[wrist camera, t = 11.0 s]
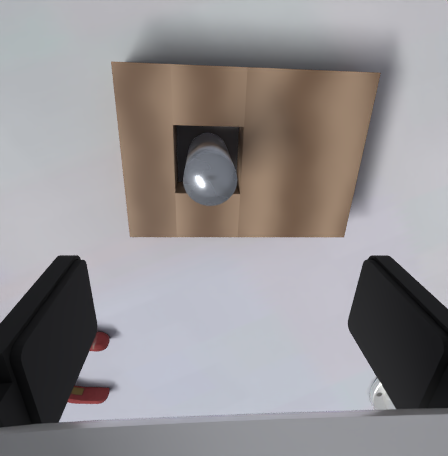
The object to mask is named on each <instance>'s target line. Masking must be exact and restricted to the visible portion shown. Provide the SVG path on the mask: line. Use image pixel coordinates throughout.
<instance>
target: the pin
mask: <svg viewBox="0 0 448 456" xmlns="http://www.w3.org/2000/svg"><path fill="white" fill-rule="evenodd" d="M183 184H184V188H185V190H186V192H187V194H188V195H189V197H190V198H191V199H193V200H194V201H195V202H197V203H199V204H201V205H205V206H215V205H219V204H222V203H224V202H225V201H227V200H228V199H229V198H230V197H231V196H232V195H233V193H234V191H235V189H236V186H237V173H236V170H235V168H234V165H233V162H232V160H231V157H230V155H229V152H228V149H227V147H226V144H225V143H224V141H223V140H222V139H221V138H220V137H219V136H217V135H215V134H212V133H203V134H200V135H198V136H197V137H195V138H194V139H193V140H192V142H191V144H190V146H189V151H188V155H187V160H186V165H185V170H184V176H183Z"/></svg>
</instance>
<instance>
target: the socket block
mask: <svg viewBox="0 0 448 456" xmlns="http://www.w3.org/2000/svg"><path fill="white" fill-rule="evenodd" d="M111 65H112V74H113V84H114V93H115V102H116V111H117V121H118V130H119V139H120V148H121V158H122V167H123V176H124V185H125V195H126V204H127V213H128V222H129V232H130V237H344V235H345V230H346V226H347V221H348V217H349V212H350V208H351V203H352V199H353V194H354V190H355V186H356V181H357V177H358V172H359V168H360V163H361V159H362V154H363V150H364V145H365V141H366V136H367V132H368V127H369V123H370V118H371V114H372V110H373V105H374V101H375V96H376V92H377V87H378V83H379V78H380V74H381V73H374V72H349V71H325V70H301V69H277V68H253V67H229V66H205V65H180V64H156V63H132V62H111ZM176 125H191V126H228V127H239V136H238V155H237V186H236V189H235V191H234V193H233V195H232V196H231V197H230V198H229V199H228V200H227V201H225V202H224V203H222V204H219V205H215V206H205V205H201V204H199V203H197V202H195V201H194V200H193V199H191V198H190V197H189V195H188V194H187V192H186V190H185V188H184V184H183V182H178V161H177V128H176Z"/></svg>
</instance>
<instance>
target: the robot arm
mask: <svg viewBox="0 0 448 456" xmlns="http://www.w3.org/2000/svg"><path fill="white" fill-rule="evenodd" d="M348 328H349V331H350V333H351V334H352V336H353V338H354V339H355V341H356V343H357V344H358V346H359V348H360V349H361V351H362V353H363V354H364V356H365V358H366V359H367V361H368V363H369V364H370V366H371V368H372V370H373V371H374V373H375V375H376V376H377V379H376V380H375V382H374V383H373V385H372V388H371V390H370V402H371V404H372V406H373V408H374V409H375V410H353V411H321V412H292V413H264V414H237V415H210V416H186V417H162V418H138V419H115V420H95V421H78V422H61V423H59V420H60V418H61V416H62V413H63V411H64V409H65V406H66V404H67V402H68V399H69V397H70V395H71V392H72V390H73V388H74V385H75V383H76V381H77V378H78V376H79V374H80V371H81V369H82V367H83V364H84V362H85V360H86V357H87V355H88V353H89V350H90V348H91V346H92V343H93V341H94V339H95V336H96V333H97V320H96V314H95V309H94V303H93V298H92V292H91V286H90V281H89V275H88V270H87V264H86V261H85V260H81V259H80V257H79V256H58V257H57V258H56V259H55V260H54V261H53V262H52V263H51V265H50V266H49V267H48V268H47V269H46V271H45V272H44V273H43V274H42V275H41V276H40V278H39V279H38V280H37V281H36V282H35V283H34V285H33V286H32V287H31V288H30V289H29V290H28V292H27V293H26V294H25V295H24V296H23V297H22V299H21V300H20V301H19V302H18V303H17V305H16V306H15V307H14V308H13V309H12V310H11V312H10V313H9V314H8V315H7V316H6V317H5V319H4V320H3V321H2V322H1V323H0V456H448V309H447V308H446V307H445V306H444V305H443V304H442V303H441V302H439V301H438V300H437V299H436V298H435V297H434V296H433V295H432V294H431V293H430V292H429V291H427V290H426V289H425V288H424V287H423V286H422V285H421V284H420V283H419V282H418V281H417V280H415V279H414V278H413V277H412V276H411V275H410V274H409V273H408V272H407V271H406V270H405V269H403V268H402V267H401V266H400V265H399V264H398V263H397V262H396V261H395V260H394V259H393V258H391V257H390V256H370V257H369V258H368V260H365V261H364V263H363V266H362V269H361V273H360V277H359V281H358V285H357V288H356V292H355V296H354V300H353V304H352V307H351V311H350V315H349V319H348Z"/></svg>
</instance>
